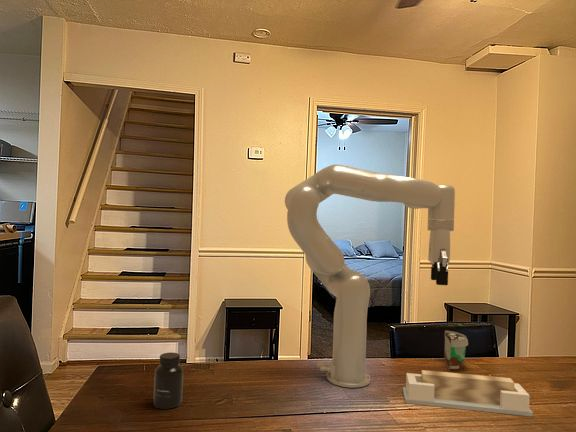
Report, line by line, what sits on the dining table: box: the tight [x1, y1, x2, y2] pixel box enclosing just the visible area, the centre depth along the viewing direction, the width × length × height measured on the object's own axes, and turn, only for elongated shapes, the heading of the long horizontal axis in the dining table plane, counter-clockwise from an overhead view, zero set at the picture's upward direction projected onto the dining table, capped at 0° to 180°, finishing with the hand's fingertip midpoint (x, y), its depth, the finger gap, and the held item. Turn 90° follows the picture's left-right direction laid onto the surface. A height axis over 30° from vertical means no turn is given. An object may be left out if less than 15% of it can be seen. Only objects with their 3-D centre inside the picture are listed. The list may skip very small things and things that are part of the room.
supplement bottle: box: [153, 352, 184, 410], centre depth 103 cm, size 7×7×12 cm
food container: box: [444, 330, 469, 372], centre depth 135 cm, size 12×6×10 cm, turn 168°
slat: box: [420, 369, 515, 405], centre depth 108 cm, size 22×3×6 cm, turn 80°
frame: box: [402, 372, 534, 418], centre depth 109 cm, size 30×8×5 cm, turn 79°
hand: (438, 282), depth 127 cm, fingers open, 9 cm apart
